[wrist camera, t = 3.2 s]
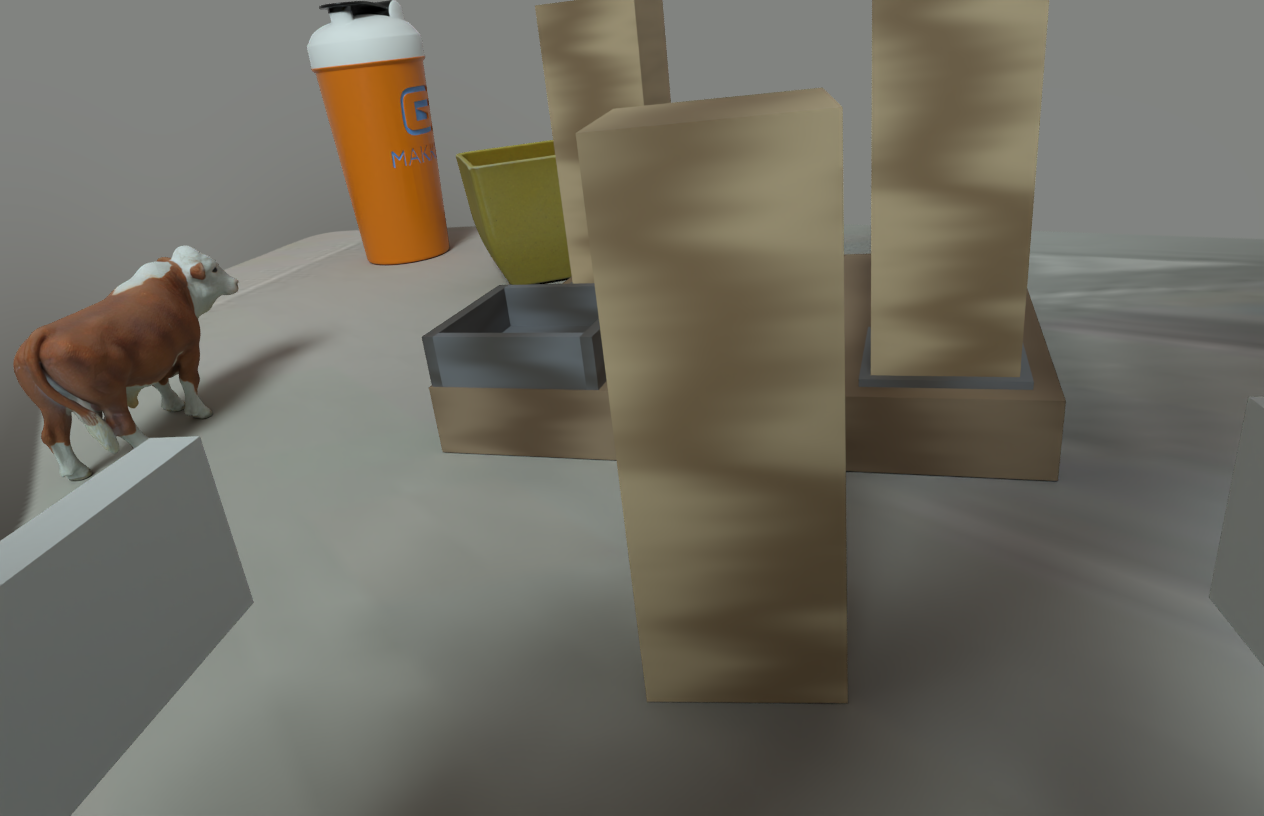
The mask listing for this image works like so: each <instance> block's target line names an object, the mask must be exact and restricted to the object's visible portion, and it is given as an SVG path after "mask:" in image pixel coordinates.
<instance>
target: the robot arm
mask: <svg viewBox="0 0 1264 816" xmlns="http://www.w3.org/2000/svg"><path fill="white" fill-rule="evenodd" d="M1209 598H1210V599H1211V600H1212V602H1213V603H1214V604H1215V606H1216V607H1217V608H1218V609H1219V611H1220V612H1221V613H1222V614H1223V616H1224V617H1225V618H1226V619H1227V621H1228V622H1229V623H1230V624H1231V626H1232V627H1233V628H1234V629H1235V631H1236V632H1237V633H1238V634H1239V636H1240V637H1241V638H1242V639H1243V641H1244V642H1245V643H1246V645H1247V646H1248V647H1249V648H1250V650H1251V651H1252V652H1253V653H1254V655H1255V656H1256V657H1257V658H1258V660H1259V661H1260V662H1261V663H1262V665H1263V666H1264V396H1254V397H1248V401H1247V406H1246V411H1245V416H1244V421H1243V426H1242V431H1241V437H1240V442H1239V447H1238V452H1237V457H1236V462H1235V467H1234V472H1233V477H1232V482H1231V487H1230V492H1229V498H1228V503H1227V508H1226V513H1225V518H1224V523H1223V528H1222V533H1221V538H1220V543H1219V548H1218V554H1217V559H1216V564H1215V569H1214V574H1213V579H1212V584H1211V589H1210V594H1209ZM253 603H254V601H253V598H252V595H251V592H250V589H249V586H248V583H247V580H246V577H245V574H244V571H243V568H242V564H241V561H240V558H239V555H238V552H237V549H236V546H235V543H234V540H233V537H232V534H231V531H230V527H229V524H228V521H227V518H226V515H225V512H224V509H223V506H222V503H221V500H220V497H219V494H218V491H217V487H216V484H215V481H214V478H213V475H212V472H211V469H210V466H209V463H208V460H207V457H206V454H205V450H204V447H203V444H202V441H201V438H200V436H193V437H166V438H149V439H148V440H146V441H145V442H143V443H142V444H140V445H139V446H137V447H136V448H135V449H133V450H132V451H130V452H129V453H127V454H126V455H124V456H123V457H121V458H120V459H119V460H117V461H116V462H114V463H113V464H111V465H110V466H108V467H107V468H106V469H104V470H103V471H101V472H100V473H98V474H97V475H95V476H94V477H92V478H91V479H90V480H88V481H87V482H85V483H84V484H82V485H81V486H79V487H78V488H77V489H75V490H74V491H72V492H71V493H69V494H68V495H66V496H65V497H63V498H62V499H61V500H59V501H58V502H56V503H55V504H53V505H52V506H50V507H49V508H48V509H46V510H45V511H43V512H42V513H40V514H39V515H37V516H36V517H34V518H33V519H32V520H30V521H29V522H27V523H26V524H24V525H23V526H21V527H20V528H19V529H17V530H16V531H14V532H13V533H11V534H10V535H8V536H7V537H5V538H4V539H3V540H1V541H0V816H71V814H72V813H73V812H74V811H75V810H76V809H77V807H78V806H79V805H80V804H81V803H82V802H83V800H84V799H85V798H86V797H87V796H88V795H89V793H90V792H91V791H92V790H93V789H94V788H95V786H96V785H97V784H98V783H99V782H100V781H101V779H102V778H103V777H104V776H105V775H106V774H107V772H108V771H109V770H110V769H111V768H112V767H113V766H114V764H115V763H116V762H117V761H118V760H119V759H120V757H121V756H122V755H123V754H124V753H125V752H126V750H127V749H128V748H129V747H130V746H131V745H132V743H133V742H134V741H135V740H136V739H137V738H138V736H139V735H140V734H141V733H142V732H143V731H144V729H145V728H146V727H147V726H148V725H149V724H150V722H151V721H152V720H153V719H154V718H155V717H156V715H157V714H158V713H159V712H160V711H161V710H162V709H163V707H164V706H165V705H166V704H167V703H168V702H169V700H170V699H171V698H172V697H173V696H174V695H175V693H176V692H177V691H178V690H179V689H180V688H181V686H182V685H183V684H184V683H185V682H186V681H187V679H188V678H189V677H190V676H191V675H192V674H193V672H194V671H195V670H196V669H197V668H198V667H199V665H200V664H201V663H202V662H203V661H204V660H205V658H206V657H207V656H208V655H209V654H210V653H211V652H212V650H213V649H214V648H215V647H216V646H217V645H218V643H219V642H220V641H221V640H222V639H223V638H224V636H225V635H226V634H227V633H228V632H229V631H230V629H231V628H232V627H233V626H234V625H235V624H236V622H237V621H238V620H239V619H240V618H241V617H242V615H243V614H244V613H245V612H246V611H247V610H248V608H249V607H250V606H251V605H252V604H253Z"/></svg>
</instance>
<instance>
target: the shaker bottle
mask: <svg viewBox="0 0 1264 816" xmlns="http://www.w3.org/2000/svg"><path fill="white" fill-rule="evenodd" d="M319 9H321V10H328V13H329V14H330V19H331V23H329V24H327V25H325V26H323V27H321V28H319V29H318V30H317V31H315V33H313V35H312V36H311V38H310V41H309V44H308V45H307V51H308V54H309V59H310V63H311V67H312V69H311V70H312V71H313V72H314V73H316V76H317V80H318V83H319V87H320V91H321V94H322V98H323V101H324V105H325V109H326V112H327V116H328V119H329V122H330V126H331V130H332V134H333V137H334V141H335V144H336V148H337V152H338V155H339V159H340V162H341V166H342V169H343V172H344V176H345V180H346V184H347V187H348V191H349V195H350V198H351V202H352V205H353V209H354V212H355V216H356V220H357V223H358V227H359V230H360V234H361V238H362V241H363V245H364V248H365V252H366V256H367V259H368V261H369V262H370V263H373V264H379V265H392V264H403V263H410V262H416V261H421V260H425V259H429V258H433V257H436V256H438V255H441V254H443V253H445V252H446V251H448V249H449V240H448V233H447V226H446V219H445V212H444V205H443V199H442V192H441V184H440V177H439V170H438V163H437V156H436V150H435V143H434V136H433V128H432V121H431V114H430V107H429V101H428V94H427V86H426V80H425V73H424V65H423V60H424V59H425V55H424V50H423V45H422V40H421V35H420V33H418V31H417V30H416V29H415V28H414V27H413V26H412V25H411V24H410V23H408V22H406V21H405V20H404V15H403V10H402V8H401V6H400V4H399V3H398V2H397V1H395V0H389V1H382V2H375V3H373V2H367V1H354V2H343V3H333V4H326V5H321V6H319Z"/></svg>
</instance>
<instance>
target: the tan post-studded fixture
mask: <svg viewBox="0 0 1264 816" xmlns="http://www.w3.org/2000/svg"><path fill="white" fill-rule="evenodd" d="M535 8H536V16H537V24H538V31H539V38H540V46H541V53H542V61H543V68H544V75H545V83H546V89H547V97H548V105H549V112H550V119H551V127H552V134H553V142H554V149H555V156H556V164H557V171H558V178H559V186H560V193H561V201H562V208H563V215H564V223H565V230H566V237H567V245H568V252H569V260H570V267H571V274H572V276H571V277H570V278H569V279H568V280H566V281H565V282H564V283H563V284H530V285H499V286H497V287H496V288H494V289H493V290H491V291H490V292H488V293H487V294H485V295H484V296H482V297H481V298H479V299H478V300H476V301H475V302H473V303H472V304H470V305H469V306H467V307H466V308H464V309H463V310H461V311H460V312H458V313H457V314H455V315H454V316H452V317H451V318H449V319H448V320H446V321H445V322H443V323H442V324H440V325H439V326H437V327H436V328H434V329H433V330H431V331H430V332H428V333H427V334H425V335H424V336H422V341H423V345H424V350H425V355H426V360H427V364H428V369H429V374H430V378H431V383H432V386H430V387H429V390H430V395H431V399H432V404H433V409H434V414H435V418H436V423H437V428H438V432H439V437H440V442H441V446H442V451H443V452H454V453H476V454H497V455H518V456H539V457H561V458H582V459H603V460H617V459H616V451H615V443H614V435H613V427H612V419H611V411H610V403H609V395H608V387H607V379H606V371H605V363H604V355H603V347H602V339H601V331H600V323H599V316H598V308H597V300H596V292H595V284H594V276H593V268H592V260H591V252H590V244H589V236H588V228H587V220H586V212H585V204H584V196H583V188H582V180H581V172H580V164H579V156H578V148H577V140H576V133H577V132H578V131H580V130H581V129H583V128H584V127H586V126H587V125H589V124H591V123H592V122H594V121H595V120H597V119H598V118H600V117H601V116H603V115H604V114H606V113H608V112H609V111H611V110H612V109H616V108H626V107H636V106H646V105H656V104H666V103H671V99H670V87H669V74H668V63H667V50H666V38H665V26H664V14H663V2H662V0H574V1H567V2H559V3H552V4H544V5H536V6H535ZM1048 8H1049V0H872V186H871V188H872V190H871V193H872V194H871V201H872V202H871V203H872V204H871V207H872V208H871V254H848V255H844V336H845V450H846V471H858V472H879V473H901V474H922V475H943V476H964V477H986V478H1007V479H1028V480H1049V481H1058V473H1059V463H1060V453H1061V443H1062V434H1063V424H1064V414H1065V404H1066V400H1065V397H1064V394H1063V391H1062V389H1061V386H1060V383H1059V380H1058V377H1057V374H1056V371H1055V368H1054V365H1053V362H1052V359H1051V357H1050V354H1049V351H1048V348H1047V345H1046V342H1045V339H1044V336H1043V333H1042V330H1041V327H1040V324H1039V322H1038V319H1037V316H1036V313H1035V310H1034V307H1033V304H1032V301H1031V298H1030V295H1029V292H1028V289H1027V280H1028V267H1029V254H1030V241H1031V228H1032V216H1033V215H1032V214H1033V203H1034V189H1035V177H1036V164H1037V151H1038V137H1039V125H1040V111H1041V99H1042V86H1043V73H1044V60H1045V47H1046V35H1047V22H1048Z"/></svg>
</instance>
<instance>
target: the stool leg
mask: <svg viewBox="0 0 1264 816" xmlns="http://www.w3.org/2000/svg"><path fill="white" fill-rule="evenodd" d="M842 112H843V110H842V106H841V105H840V104H839V103H838V102H837V101H836V100H835V99H834V98H833V97H832V96H830V95H829V94H828V93H827V92H826V91H825V90H824V89H823V88H814V89H804V90H795V91H784V92H774V93H764V94H755V95H745V96H735V97H725V98H716V99H705V100H695V101H686V102H676V103H666V104H656V105H646V106H636V107H626V108H616V109H612V110H611V111H609V112H608V113H606V114H604V115H603V116H601V117H600V118H598V119H597V120H595V121H594V122H592V123H591V124H589V125H587V126H586V127H584V128H583V129H581V130H580V131H578V132H577V133H576V140H577V148H578V156H579V164H580V172H581V180H582V188H583V196H584V204H585V212H586V220H587V228H588V236H589V244H590V252H591V260H592V268H593V276H594V284H595V292H596V300H597V308H598V316H599V323H600V331H601V339H602V347H603V355H604V363H605V371H606V379H607V387H608V395H609V403H610V411H611V419H612V427H613V435H614V443H615V451H616V459H617V467H618V475H619V483H620V491H621V499H622V506H623V514H624V522H625V530H626V538H627V546H628V554H629V562H630V570H631V578H632V586H633V594H634V602H635V610H636V618H637V626H638V634H639V642H640V650H641V658H642V666H643V674H644V682H645V689H646V697H647V702H744V703H848V678H847V564H846V450H845V336H844V223H843V113H842Z"/></svg>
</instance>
